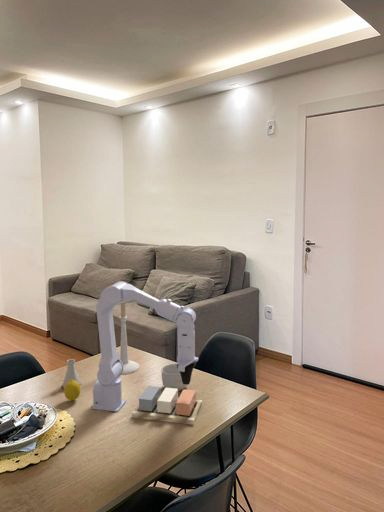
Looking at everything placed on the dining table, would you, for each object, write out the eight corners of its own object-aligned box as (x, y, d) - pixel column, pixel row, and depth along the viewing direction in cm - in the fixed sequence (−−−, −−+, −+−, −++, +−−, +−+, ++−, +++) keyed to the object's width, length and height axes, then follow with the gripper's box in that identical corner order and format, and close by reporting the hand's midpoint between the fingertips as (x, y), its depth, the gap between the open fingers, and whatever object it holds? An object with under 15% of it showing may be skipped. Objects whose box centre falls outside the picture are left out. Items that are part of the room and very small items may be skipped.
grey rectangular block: (139, 409, 138) (138, 398, 137) (148, 396, 147) (148, 385, 147) (151, 411, 137) (151, 400, 136) (160, 397, 146) (160, 386, 146)
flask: (78, 389, 157) (77, 364, 156) (59, 389, 157) (58, 364, 156) (83, 381, 164) (82, 357, 163) (65, 381, 164) (64, 357, 163)
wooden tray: (131, 417, 136) (131, 413, 136) (145, 397, 150) (145, 394, 150) (193, 424, 132) (193, 420, 132) (202, 404, 145) (202, 400, 145)
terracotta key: (176, 414, 135) (176, 402, 134) (183, 400, 145) (183, 389, 144) (189, 415, 134) (189, 404, 133) (195, 401, 144) (195, 390, 143)
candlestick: (110, 375, 169) (108, 305, 166) (108, 364, 182) (106, 298, 178) (141, 372, 173) (139, 303, 169) (137, 361, 185) (136, 296, 181)
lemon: (76, 405, 144) (75, 384, 143) (61, 403, 146) (61, 382, 145) (83, 398, 150) (82, 377, 149) (69, 396, 151) (68, 376, 150)
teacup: (177, 396, 151) (177, 376, 150) (155, 388, 157) (155, 369, 156) (199, 383, 162) (199, 364, 161) (178, 376, 168) (178, 358, 167)
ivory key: (157, 411, 136) (157, 400, 136) (165, 398, 146) (165, 387, 146) (170, 413, 135) (170, 402, 135) (178, 399, 145) (177, 388, 145)
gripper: (193, 353, 129) (193, 394, 130) (202, 338, 143) (202, 375, 144) (171, 351, 130) (171, 392, 132) (182, 337, 144) (182, 374, 146)
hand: (186, 383), depth 138 cm, fingers closed
